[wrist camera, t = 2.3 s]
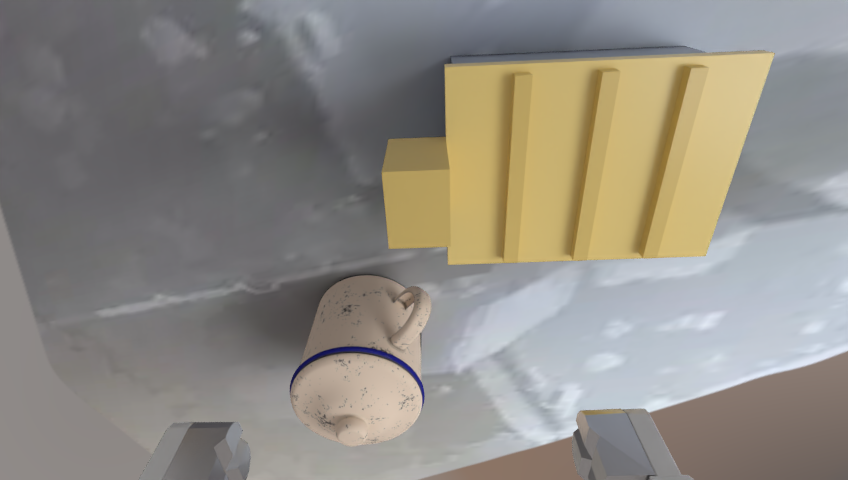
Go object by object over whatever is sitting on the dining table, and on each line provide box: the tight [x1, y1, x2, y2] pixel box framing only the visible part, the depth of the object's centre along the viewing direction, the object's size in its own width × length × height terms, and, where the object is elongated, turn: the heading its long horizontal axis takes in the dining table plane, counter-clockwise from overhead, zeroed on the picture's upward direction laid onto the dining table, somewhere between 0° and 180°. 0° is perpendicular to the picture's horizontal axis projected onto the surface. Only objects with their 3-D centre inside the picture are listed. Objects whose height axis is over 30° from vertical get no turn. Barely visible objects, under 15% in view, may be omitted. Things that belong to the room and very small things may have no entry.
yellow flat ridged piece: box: [382, 50, 775, 265], centre depth 22 cm, size 18×11×4 cm, turn 92°
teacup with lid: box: [290, 275, 431, 446], centre depth 32 cm, size 12×9×12 cm
